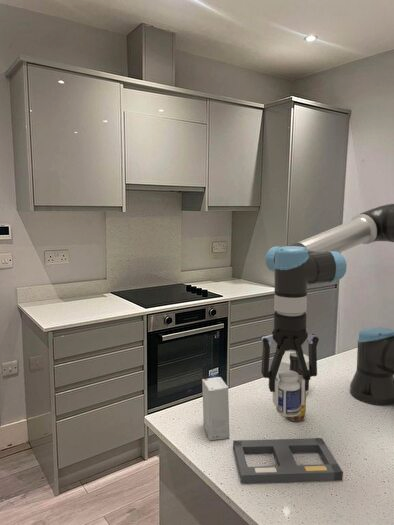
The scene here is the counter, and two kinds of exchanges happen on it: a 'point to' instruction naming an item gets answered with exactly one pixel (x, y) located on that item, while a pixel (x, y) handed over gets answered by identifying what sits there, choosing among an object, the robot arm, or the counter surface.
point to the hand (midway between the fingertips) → (288, 402)
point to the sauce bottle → (296, 367)
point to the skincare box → (215, 408)
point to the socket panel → (285, 461)
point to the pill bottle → (288, 394)
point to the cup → (286, 364)
